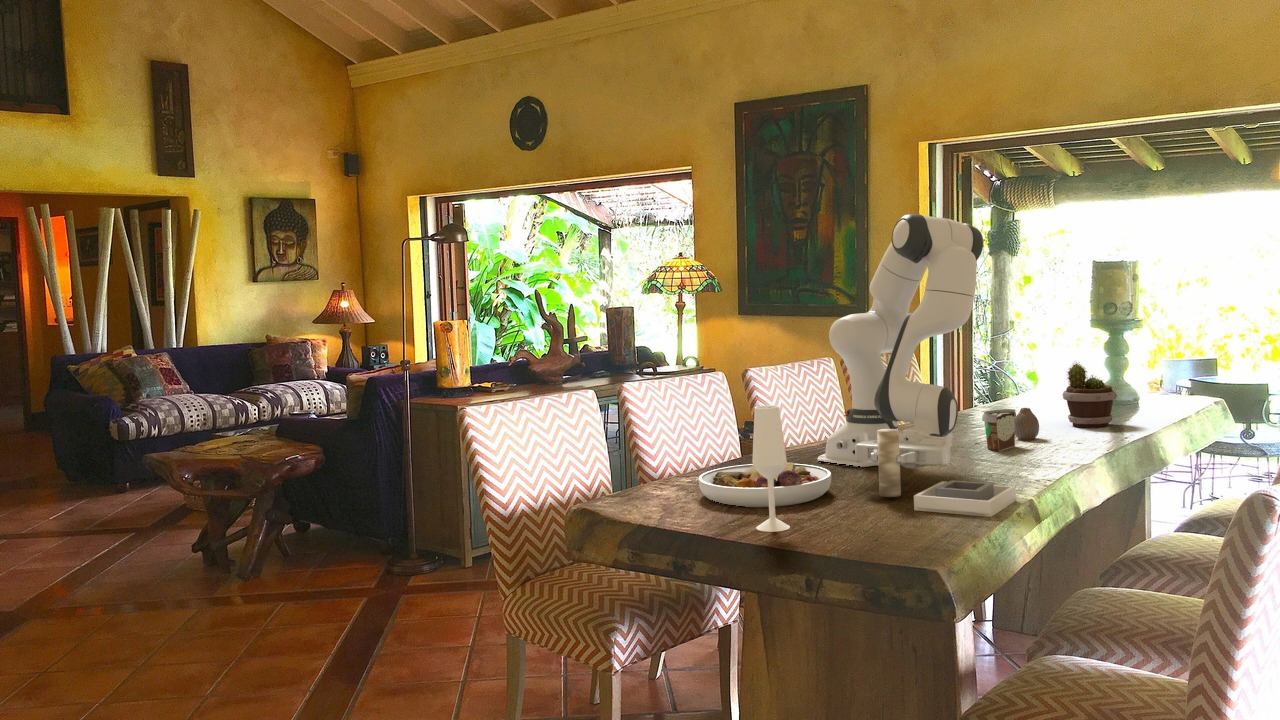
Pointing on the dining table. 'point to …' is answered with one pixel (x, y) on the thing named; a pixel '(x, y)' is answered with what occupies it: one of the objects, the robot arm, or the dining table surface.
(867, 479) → the dining table surface
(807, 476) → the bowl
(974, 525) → the dining table surface
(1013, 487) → the tray
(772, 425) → the champagne flute
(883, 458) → the peg
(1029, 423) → the vase
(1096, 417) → the flowerpot
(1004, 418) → the food container
